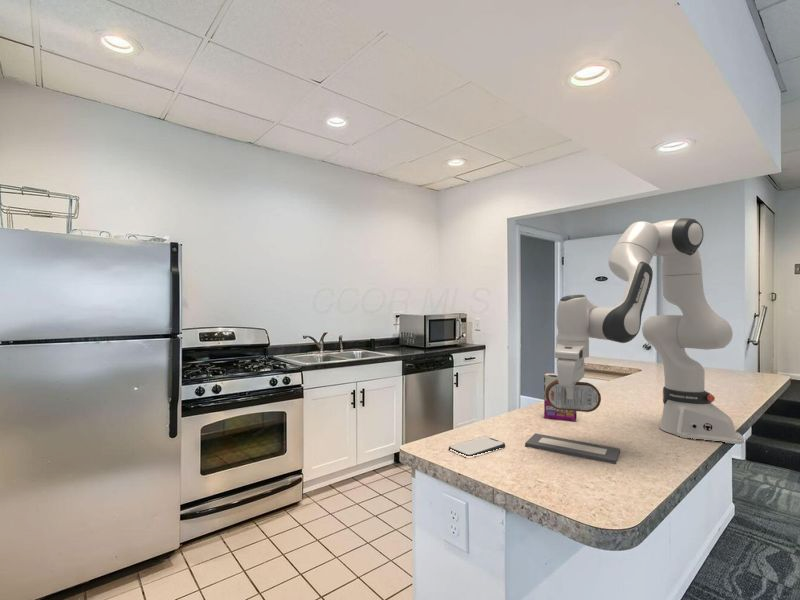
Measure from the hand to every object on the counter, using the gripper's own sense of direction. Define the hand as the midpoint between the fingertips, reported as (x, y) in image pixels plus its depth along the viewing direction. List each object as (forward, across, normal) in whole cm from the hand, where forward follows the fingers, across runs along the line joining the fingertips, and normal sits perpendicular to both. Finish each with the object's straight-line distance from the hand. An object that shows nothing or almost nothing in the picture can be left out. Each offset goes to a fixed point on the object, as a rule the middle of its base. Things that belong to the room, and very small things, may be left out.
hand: (572, 397), depth 119 cm
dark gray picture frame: (+15, 0, 0) cm, 15 cm away
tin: (+4, 0, 0) cm, 4 cm away
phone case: (+16, +15, -23) cm, 32 cm away
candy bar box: (+15, -32, -10) cm, 37 cm away
